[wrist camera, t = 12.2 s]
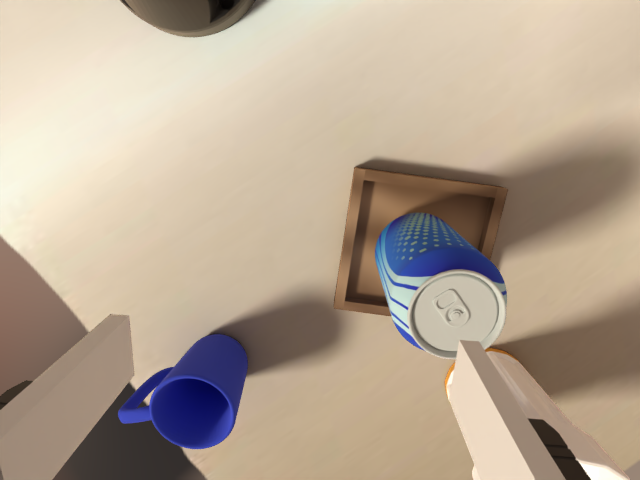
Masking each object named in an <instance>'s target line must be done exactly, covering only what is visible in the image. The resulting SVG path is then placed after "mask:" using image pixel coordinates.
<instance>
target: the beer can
mask: <svg viewBox="0 0 640 480" xmlns="http://www.w3.org/2000/svg"><path fill="white" fill-rule="evenodd" d="M375 260H376V265H377V268H378V272H379V275H380V278H381V282H382V285H383V289H384V292H385V296H386V299H387V302H388V306H389V309H390V313H391V316H392V319H393V322H394V324H395V326H396V328H397V329H398V331H399V332H400V333H401V335H402V336H403V337H404V338H405V339H406V340H407V341H409V342H410V343H411V344H413V345H414V346H416V347H418V348H420V349H422V350H424V351H427V352H428V353H430V354H432V355H434V356H437V357H440V358H444V359H456V356H457V351H458V345H459V340H467V341H479V342H480V344H481V345H482V347H483V348H484V350H486V349H487V348H488V347H489V346H491V345H492V344H493V343H494V342H495V340H496V339H497V338H498V337H499V335H500V333H501V332H502V329H503V327H504V324H505V320H506V304H507V292H506V286H505V283H504V280H503V278H502V276H501V274H500V272H499V271H498V269H497V268H496V266H495V265H494V264H493V263H492V262H491V261H490V260H489V259H487V258H486V257H485V256H484V255H483V254H482V253H481V252H479V251H478V250H477V249H476V248H475V247H474V246H472V245H471V244H470V243H469V242H468V241H467V240H465V239H464V238H463V237H462V236H461V235H460V234H458V233H457V232H456V231H455V230H454V229H453V228H451V227H450V226H449V225H448V224H447V223H446V222H444V221H443V220H442V219H440V218H438V217H436V216H434V215H431V214H427V213H410V214H406V215H403V216H400V217H398V218H396V219H395V220H393V221H392V222H390V223H389V224H388V225H387V226H386V227H385V228H384V230H383V231H382V232H381V234H380V236H379V238H378V240H377V243H376V247H375Z"/></svg>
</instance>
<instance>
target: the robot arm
mask: <svg viewBox="0 0 640 480" xmlns="http://www.w3.org/2000/svg"><path fill="white" fill-rule="evenodd" d="M120 1H121V2H122V3H123V4H124V5H125V6H126V7H127V8H128V9H129V10H130V11H131V12H133V13H134V14H135V15H136V16H138V17H139V18H141V19H142V20H144V21H145V22H147V23H149V24H151V25H152V26H154V27H156V28H158V29H160V30H162V31H164V32H167V33H170V34H173V35H177V36H183V37H202V36H207V35H212V34H215V33H218V32H220V31H222V30H224V29H226V28H228V27H230V26H231V25H233V24H234V23H235V22H237V21H238V20H239V19H240V18H241V17H242V16H243V15H244V14H245V13H246V12H247V11H248V10H249V8H250V7H251V6H252V4H253V3H254V2H255V0H120ZM133 376H134V365H133V354H132V342H131V331H130V319H129V316H127V315H113V314H110V315H109V316H108V317H107V318H105V319H104V320H103V321H102V322H101V323H100V324H99V325H97V326H96V327H95V328H94V329H93V330H92V331H91V332H89V333H88V334H87V335H86V336H85V337H84V338H83V339H81V340H80V341H79V342H78V343H77V344H76V345H74V346H73V347H72V348H71V349H70V350H69V351H68V352H66V353H65V355H63V356H62V357H61V358H60V359H58V360H57V361H56V362H55V363H54V364H53V365H52V366H50V367H49V368H48V369H47V370H46V371H45V372H44V373H42V374H41V375H40V376H39V377H38V378H37V379H35V380H34V381H24V382H22V383H20V384H18V385H17V386H15V387H13V388H11V389H9V390H7V391H6V392H5V393H4V394H2V395H1V396H0V480H52V479H53V478H54V476H55V475H56V474H57V472H58V471H59V470H60V469H61V467H62V466H63V465H64V464H65V462H66V461H67V460H68V458H69V457H70V456H71V455H72V454H73V452H74V451H75V450H76V448H77V447H78V446H79V445H80V443H81V442H82V441H83V439H84V438H85V437H86V436H87V434H88V433H89V432H90V431H91V429H92V428H93V427H94V426H95V424H96V423H97V422H98V420H99V419H100V418H101V417H102V415H103V414H104V413H105V412H106V410H107V409H108V408H109V406H110V405H111V404H112V403H113V401H114V400H115V398H116V397H117V396H118V395H119V394H120V392H121V391H122V390H123V389H124V387H125V386H126V385H127V384H128V382H129V381H130V380H131V378H132V377H133ZM449 401H450V403H451V406H452V408H453V411H454V414H455V416H456V419H457V421H458V424H459V426H460V429H461V431H462V434H463V436H464V439H465V442H466V444H467V447H468V449H469V452H470V454H471V457H472V459H473V462H474V464H475V467H476V470H477V472H478V475H479V477H480V480H591V479H590V477H589V476H588V474H587V473H586V472H585V470H584V469H583V467H582V466H581V464H580V463H579V461H578V460H576V457H575V456H574V454H573V453H572V451H571V450H570V449H568V446H567V444H566V443H565V441H564V440H563V439H562V437H561V436H560V434H559V433H558V432H557V431H556V430H555V429H554V428H553V427H551V426H550V425H549V424H548V423H547V422H545V421H544V420H543V419H530V418H527V417H526V415H525V414H524V412H523V411H522V409H521V407H520V406H519V404H518V403H517V401H516V399H515V398H514V396H513V395H512V393H511V391H510V390H509V388H508V387H507V385H506V383H505V382H504V380H503V379H502V377H501V376H500V374H499V372H498V371H497V369H496V368H495V366H494V364H493V363H492V361H491V360H490V358H489V356H488V355H487V353H486V352H485V350H484V348H483V347H482V345H481V344H480V342H479V341H467V340H459V345H458V351H457V356H456V362H455V367H454V373H453V378H452V384H451V389H450V395H449Z"/></svg>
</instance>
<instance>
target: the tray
mask: <svg viewBox="0 0 640 480" xmlns="http://www.w3.org/2000/svg"><path fill="white" fill-rule="evenodd" d="M507 191H508V189H506V188H503V187H499V186H492V185H484V184H477V183H470V182H462V181H455V180H448V179H440V178H433V177H426V176H418V175H411V174H404V173H396V172H389V171H381V170H374V169H367V168H359V167H354V174H353V180H352V187H351V194H350V200H349V207H348V213H347V220H346V227H345V233H344V240H343V246H342V253H341V260H340V266H339V273H338V279H337V286H336V292H335V299H334V309H341V310H349V311H356V312H363V313H370V314H378V315H385V316H391V313H390V309H389V306H388V302H387V299H386V296H385V292H384V289H383V285H382V282H381V278H380V275H379V272H378V268H377V265H376V260H375V247H376V243H377V240H378V238H379V236H380V234H381V232H382V231H383V230H384V228H385V227H386V226H387V225H388V224H389V223H390V222H392V221H393V220H395V219H396V218H398V217H400V216H403V215H406V214H410V213H427V214H431V215H434V216H436V217H438V218H440V219H442V220H443V221H444V222H446V223H447V224H448V225H449V226H450V227H451V228H453V229H454V230H455V231H456V232H457V233H458V234H460V235H461V236H462V237H463V238H464V239H465V240H467V241H468V242H469V243H470V244H471V245H472V246H474V247H475V248H476V249H477V250H478V251H479V252H481V253H482V254H483V255H484V256H485V257H486V258H487V259H489V260H490V258H491V254H492V250H493V246H494V242H495V238H496V234H497V230H498V226H499V222H500V218H501V215H502V211H503V207H504V203H505V199H506V195H507Z"/></svg>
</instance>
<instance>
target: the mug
mask: <svg viewBox="0 0 640 480" xmlns="http://www.w3.org/2000/svg"><path fill="white" fill-rule="evenodd" d="M247 369H248V360H247V355H246V352H245V350H244V348H243V347H242V346H241V345H240V344H239V343H238V342H237V341H236V340H235V339H233V338H231V337H229V336H226V335H221V334H213V335H209V336H206V337H203V338H201V339H200V340H198V341H197V342H196V343H195V344H194V345H193V346H192V347H191V348H190V349H189V350H188V352H187V353H186V354H185V355H184V356H183V357H182V358H181V360H180V361H179V362H178V363H177V364H176V365H175V367H170V368H166V369H164V370H161V371H159V372H157V373H156V374H154V375H153V376H152V377H150V378H149V379H148V380H147V381H146V382H145V383H143V384H142V385H141V386H140V387H139V388H138V389H137V390H136V392H135V393H134V394H133V395H132V396H131V397H130V398H129V399H128V400H127V402H126V403H125V404H124V405H123V406H122V407H121V408H120V410H119V412H118V416H119V419H120V421H121V422H122V423H137V422H144V421H148V420H152V422H153V424H154V426H155V427H156V429H157V430H158V431H159V433H161V435H162V436H164V437H165V438H166V439H167V440H169V441H170V442H172V443H174V444H176V445H178V446H181V447H185V448H190V449H204V448H209V447H212V446H215V445H217V444H219V443H220V442H222V441H223V440H224V439H225V438H226V437H227V436H228V435H229V434H230V433H231V431H232V429H233V427H234V424H235V420H236V416H237V412H238V408H239V403H240V399H241V395H242V391H243V386H244V382H245V378H246V374H247ZM156 387H157V388H156ZM154 388H156V389H155V390H154V392H153V394H152V396H151V399H150V405H149V406H146V407H141V408H137V407H138V406H139V405H140V403H141V402H142V401H143V400H144V399H145V398H146V397H147V395H148V394H149V393H150V392H151V391H152V390H153V389H154Z"/></svg>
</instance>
